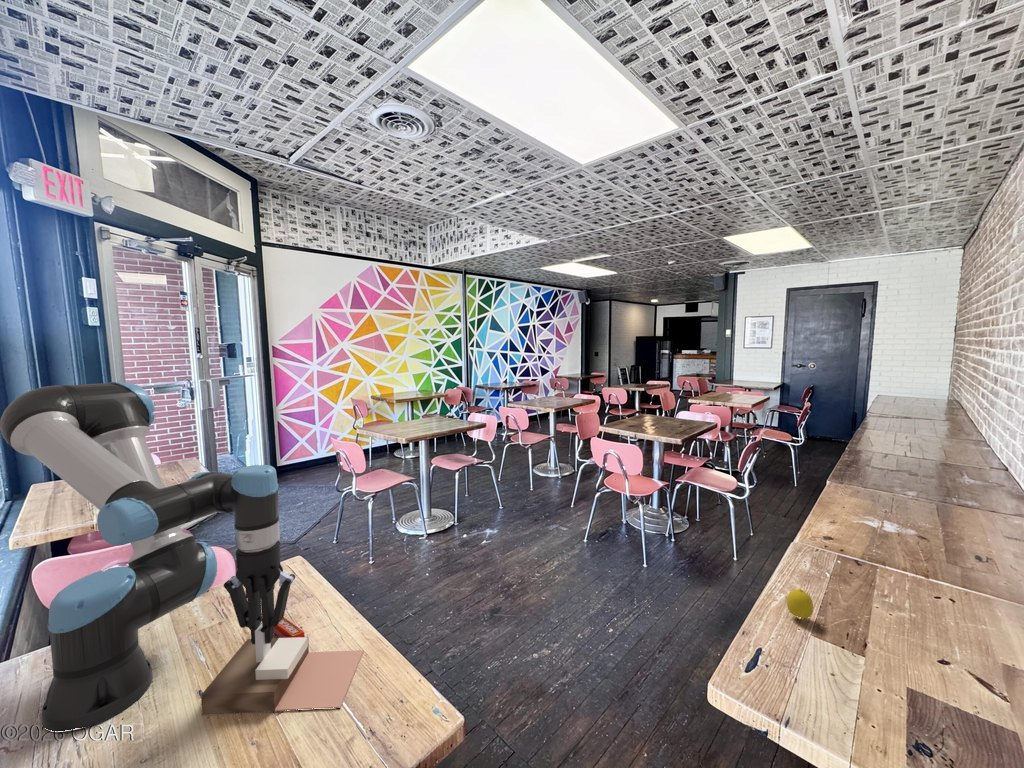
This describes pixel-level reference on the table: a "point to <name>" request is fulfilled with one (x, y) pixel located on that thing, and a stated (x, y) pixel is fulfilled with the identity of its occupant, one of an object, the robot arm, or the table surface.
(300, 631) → the candy bar
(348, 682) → the mat
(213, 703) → the serving board
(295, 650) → the tile
